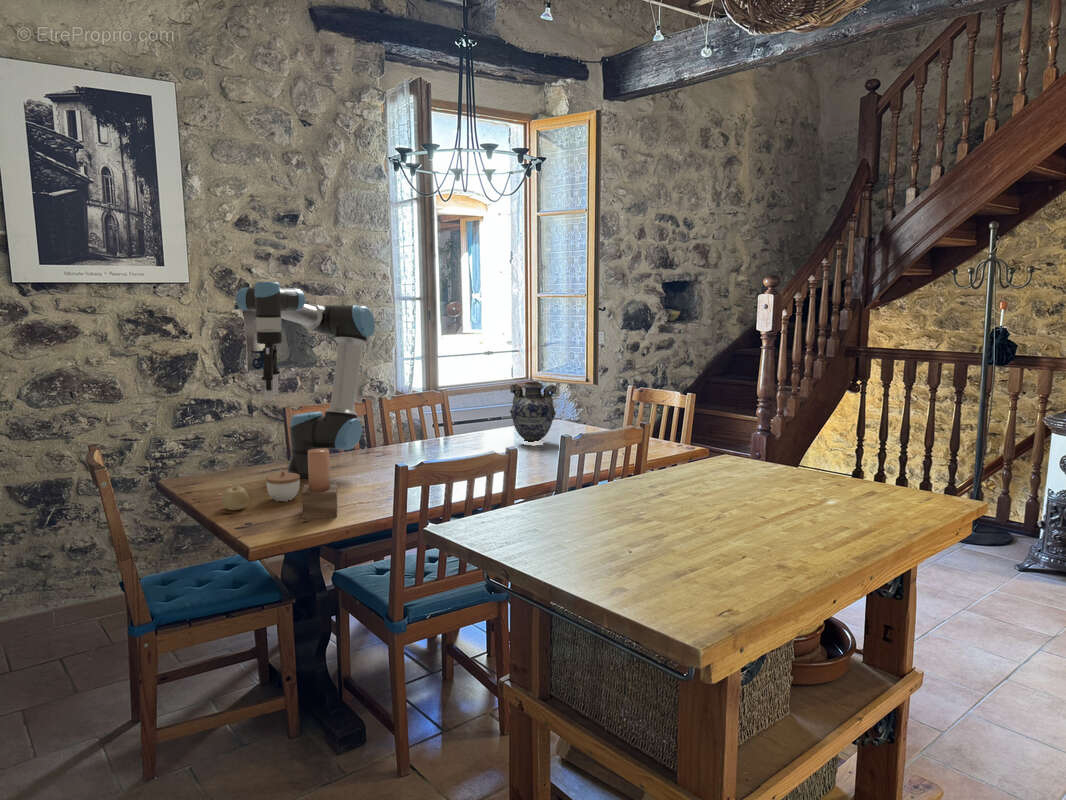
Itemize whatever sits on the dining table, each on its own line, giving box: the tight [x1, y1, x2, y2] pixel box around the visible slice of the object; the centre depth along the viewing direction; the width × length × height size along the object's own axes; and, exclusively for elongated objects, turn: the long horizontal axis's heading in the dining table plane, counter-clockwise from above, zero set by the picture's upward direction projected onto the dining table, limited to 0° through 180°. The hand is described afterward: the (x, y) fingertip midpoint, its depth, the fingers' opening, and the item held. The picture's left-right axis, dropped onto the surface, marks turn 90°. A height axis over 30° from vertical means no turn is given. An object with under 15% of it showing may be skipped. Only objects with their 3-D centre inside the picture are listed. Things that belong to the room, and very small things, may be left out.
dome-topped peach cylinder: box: [308, 448, 331, 491], centre depth 232 cm, size 6×6×12 cm
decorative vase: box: [509, 381, 558, 442], centre depth 340 cm, size 21×19×28 cm
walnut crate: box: [301, 483, 339, 520], centre depth 234 cm, size 10×10×8 cm
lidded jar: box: [265, 470, 301, 502], centre depth 249 cm, size 11×11×9 cm
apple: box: [221, 485, 250, 511], centre depth 238 cm, size 8×8×8 cm
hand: (271, 397), depth 240 cm, fingers open, 13 cm apart
